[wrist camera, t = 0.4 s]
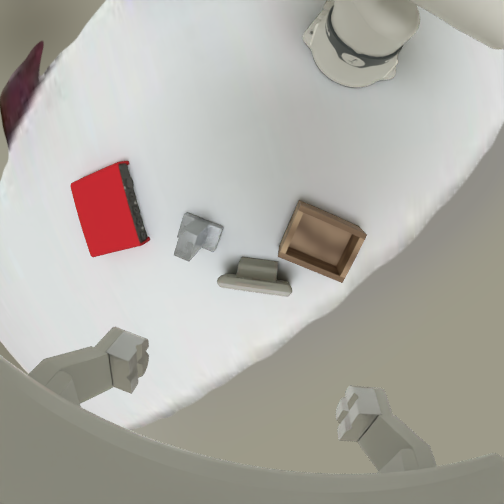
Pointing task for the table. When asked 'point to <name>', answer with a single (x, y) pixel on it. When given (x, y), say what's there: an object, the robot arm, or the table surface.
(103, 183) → the red device housing
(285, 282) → the digital clock
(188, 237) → the bracket
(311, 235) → the wooden box
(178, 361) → the table surface
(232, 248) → the table surface
